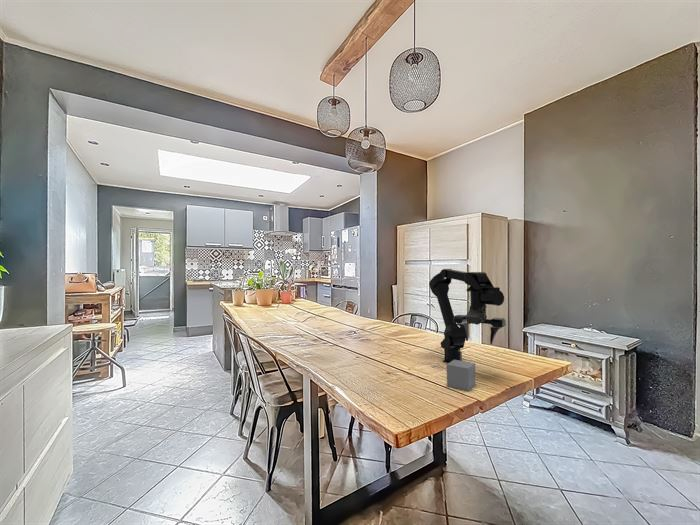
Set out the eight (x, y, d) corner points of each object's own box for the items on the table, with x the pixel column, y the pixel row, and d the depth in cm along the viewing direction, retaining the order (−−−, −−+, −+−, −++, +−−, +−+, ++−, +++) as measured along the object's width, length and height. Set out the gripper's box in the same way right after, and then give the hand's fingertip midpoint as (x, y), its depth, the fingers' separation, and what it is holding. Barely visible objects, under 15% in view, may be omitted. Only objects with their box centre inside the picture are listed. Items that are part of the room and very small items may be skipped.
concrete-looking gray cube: (447, 386, 107) (446, 364, 107) (454, 380, 113) (454, 359, 113) (468, 391, 102) (468, 368, 102) (475, 384, 108) (475, 363, 108)
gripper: (447, 303, 121) (448, 342, 121) (498, 306, 109) (499, 350, 109) (457, 301, 130) (458, 337, 129) (505, 303, 118) (506, 344, 117)
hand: (479, 342), depth 121 cm, fingers open, 9 cm apart
